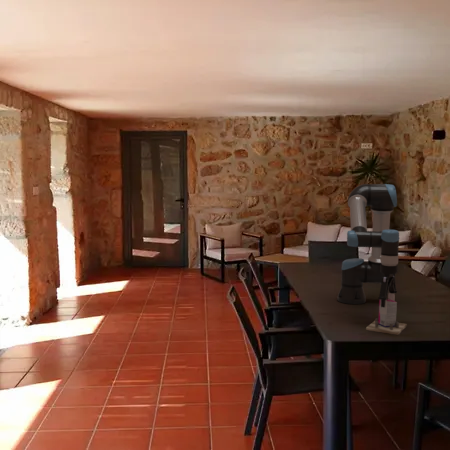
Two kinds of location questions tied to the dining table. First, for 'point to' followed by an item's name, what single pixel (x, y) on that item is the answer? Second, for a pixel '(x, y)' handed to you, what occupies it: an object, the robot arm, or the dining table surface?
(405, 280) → the dining table surface
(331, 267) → the dining table surface
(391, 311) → the supplement box
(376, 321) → the plate
